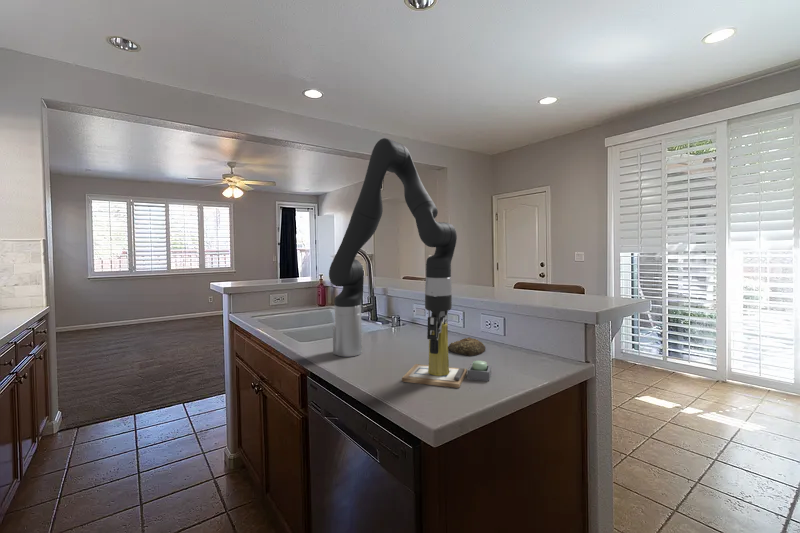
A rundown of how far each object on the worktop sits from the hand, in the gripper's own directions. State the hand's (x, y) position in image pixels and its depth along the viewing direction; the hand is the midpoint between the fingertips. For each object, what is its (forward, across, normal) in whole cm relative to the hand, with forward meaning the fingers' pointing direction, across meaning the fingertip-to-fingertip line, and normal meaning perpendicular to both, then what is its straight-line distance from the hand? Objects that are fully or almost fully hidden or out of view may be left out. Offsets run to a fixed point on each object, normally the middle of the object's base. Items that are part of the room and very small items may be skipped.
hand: (437, 349), depth 107 cm
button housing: (+8, -4, +11) cm, 14 cm away
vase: (+7, 0, 0) cm, 7 cm away
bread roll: (+9, -30, +4) cm, 32 cm away
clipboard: (+8, 0, -1) cm, 8 cm away
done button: (+6, -4, +11) cm, 13 cm away
